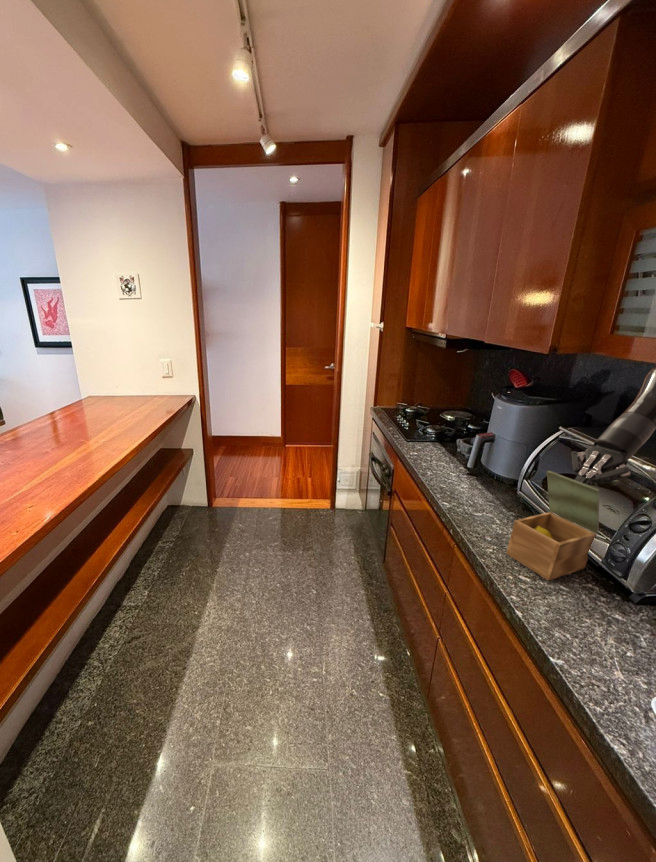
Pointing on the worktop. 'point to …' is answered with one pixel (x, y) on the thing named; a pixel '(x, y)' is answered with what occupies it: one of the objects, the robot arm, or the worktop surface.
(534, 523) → the box
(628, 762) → the worktop surface
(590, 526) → the caddy lid
